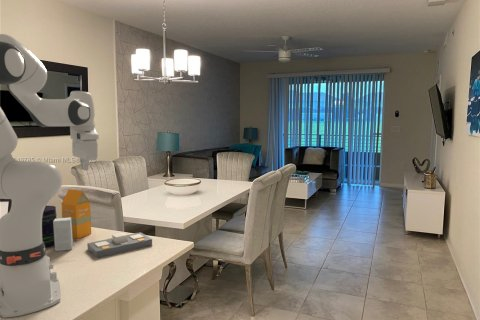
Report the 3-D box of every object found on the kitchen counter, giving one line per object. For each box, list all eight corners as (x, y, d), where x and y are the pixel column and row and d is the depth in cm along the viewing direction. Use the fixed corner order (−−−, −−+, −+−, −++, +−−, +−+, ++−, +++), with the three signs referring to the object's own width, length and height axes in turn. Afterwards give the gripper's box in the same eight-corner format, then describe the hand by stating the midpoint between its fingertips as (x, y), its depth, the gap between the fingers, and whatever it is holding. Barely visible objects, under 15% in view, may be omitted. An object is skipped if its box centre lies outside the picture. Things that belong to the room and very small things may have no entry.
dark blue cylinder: (26, 245, 146) (23, 209, 145) (50, 238, 154) (48, 204, 152) (37, 250, 140) (35, 213, 139) (62, 243, 148) (60, 208, 146)
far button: (144, 243, 149) (143, 236, 149) (133, 245, 146) (133, 238, 146) (139, 240, 153) (139, 233, 152) (129, 242, 150) (129, 235, 149)
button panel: (152, 245, 147) (152, 238, 147) (96, 258, 134) (96, 250, 133) (140, 237, 156) (140, 231, 155) (87, 249, 142) (87, 242, 142)
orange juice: (77, 238, 154) (74, 192, 152) (62, 235, 158) (60, 190, 156) (91, 233, 161) (89, 189, 159) (77, 230, 165) (75, 187, 163)
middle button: (127, 241, 144) (127, 235, 144) (116, 244, 142) (116, 237, 141) (123, 238, 148) (122, 232, 148) (112, 241, 145) (112, 234, 145)
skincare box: (73, 246, 146) (71, 217, 144) (71, 249, 142) (70, 219, 140) (56, 247, 144) (54, 218, 142) (54, 251, 140) (52, 221, 138)
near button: (109, 250, 140) (109, 244, 140) (98, 253, 138) (98, 246, 137) (106, 247, 144) (105, 240, 143) (94, 250, 141) (94, 243, 141)
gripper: (67, 133, 145) (69, 167, 147) (82, 135, 130) (84, 173, 131) (83, 132, 149) (85, 166, 151) (100, 135, 133) (101, 172, 135)
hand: (84, 169), depth 141 cm, fingers closed
